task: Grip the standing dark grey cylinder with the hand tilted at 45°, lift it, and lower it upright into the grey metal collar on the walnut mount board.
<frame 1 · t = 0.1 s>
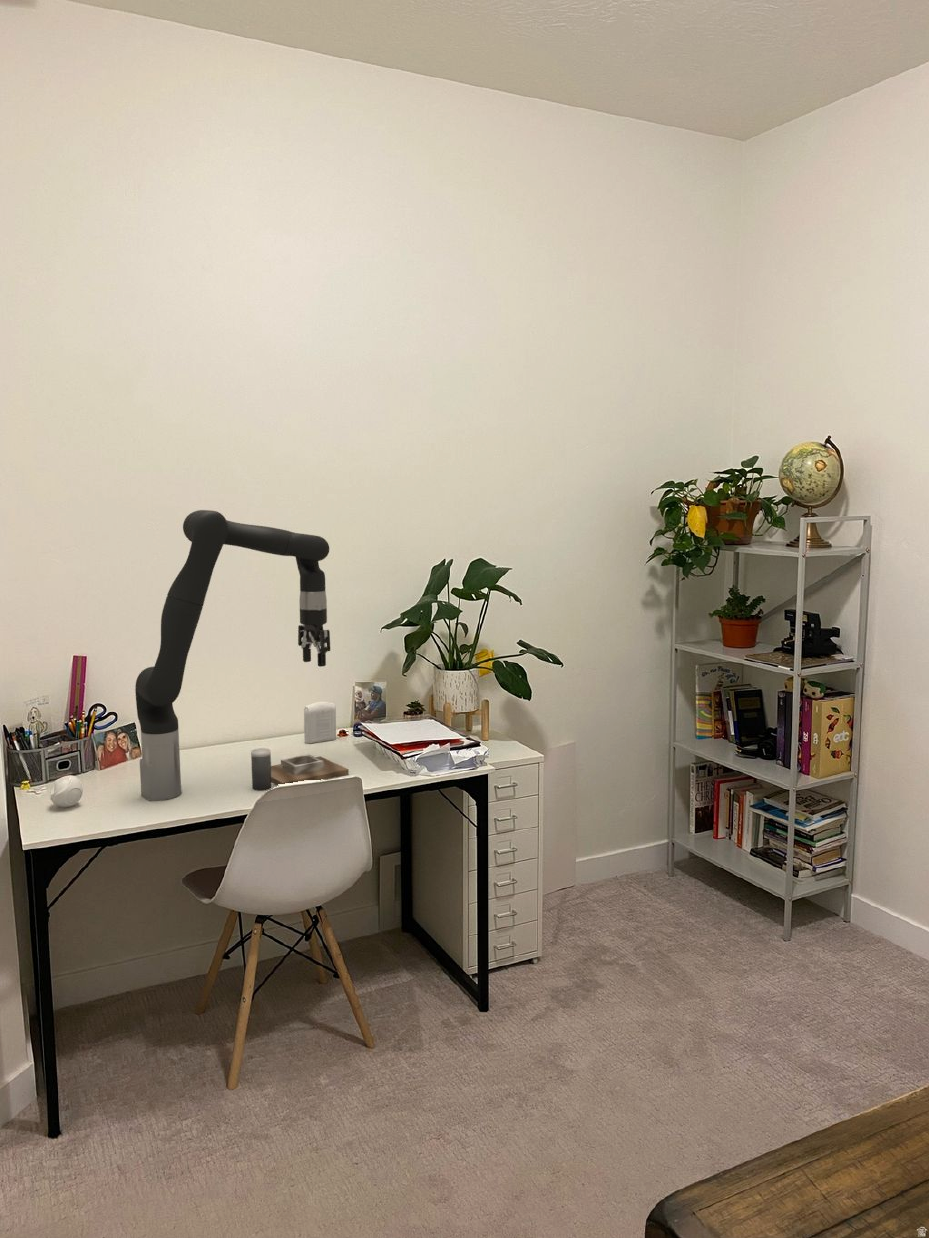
hand: (314, 664, 270), 29 cm above the table, tool pointing down, fingers open, 8 cm apart
dark grey cylinder: (262, 787, 253), on the table
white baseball: (67, 807, 239), on the table
mount board: (302, 774, 264), on the table
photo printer: (320, 741, 299), on the table
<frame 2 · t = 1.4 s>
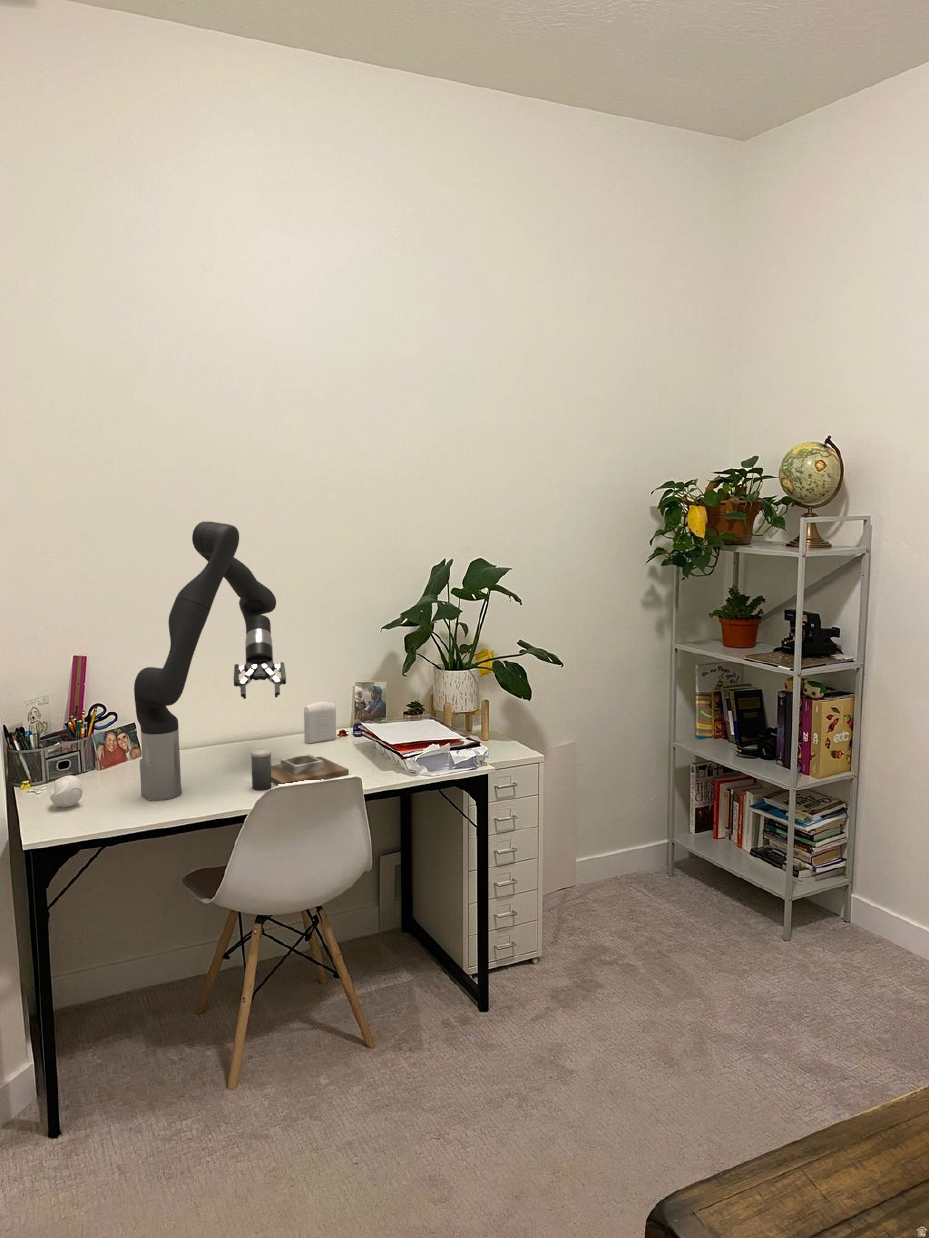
hand: (260, 696, 263), 22 cm above the table, tool tilted 45°, fingers open, 8 cm apart
nothing on the table moved.
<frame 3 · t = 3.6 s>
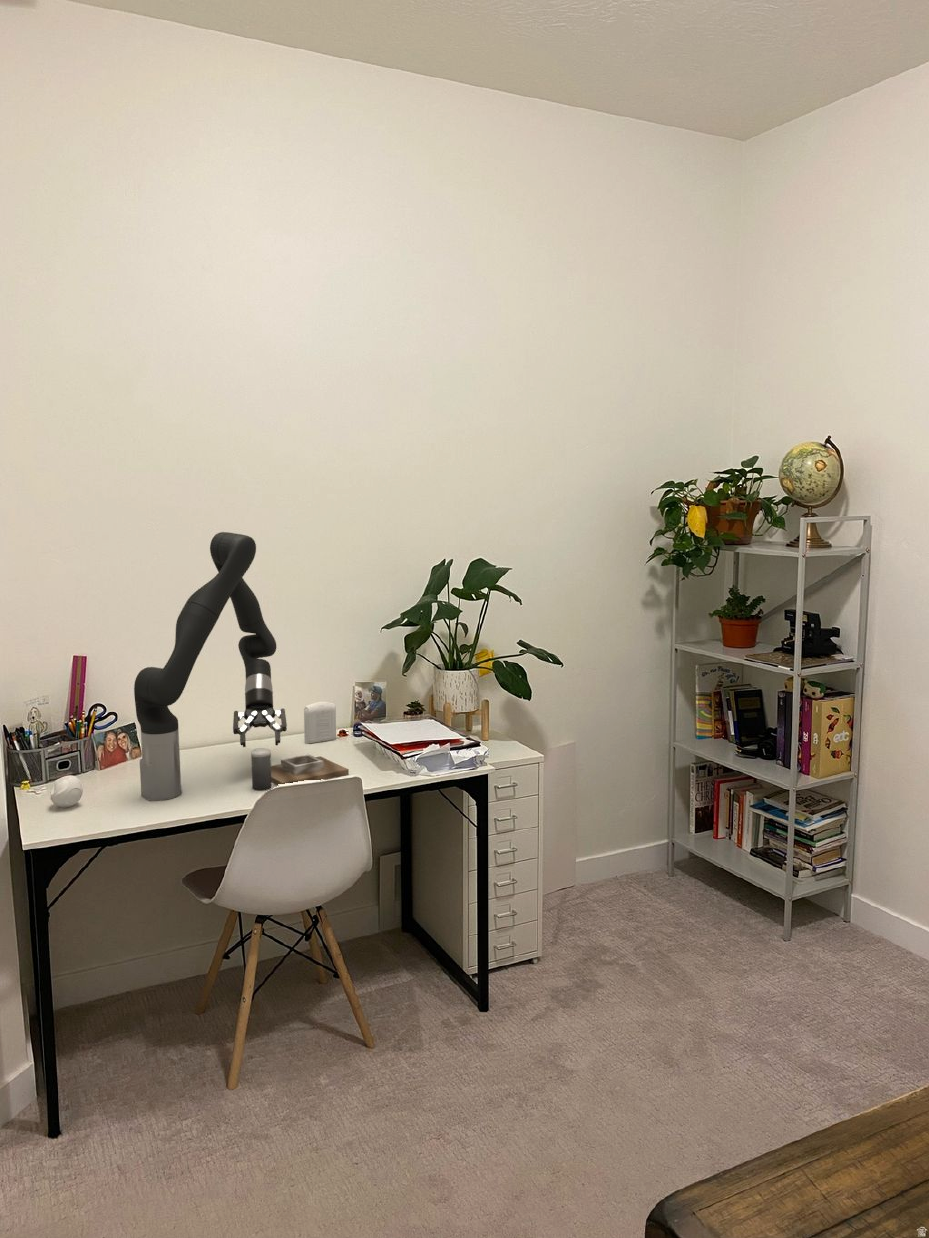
hand: (260, 744, 257), 10 cm above the table, tool tilted 45°, fingers open, 8 cm apart
nothing on the table moved.
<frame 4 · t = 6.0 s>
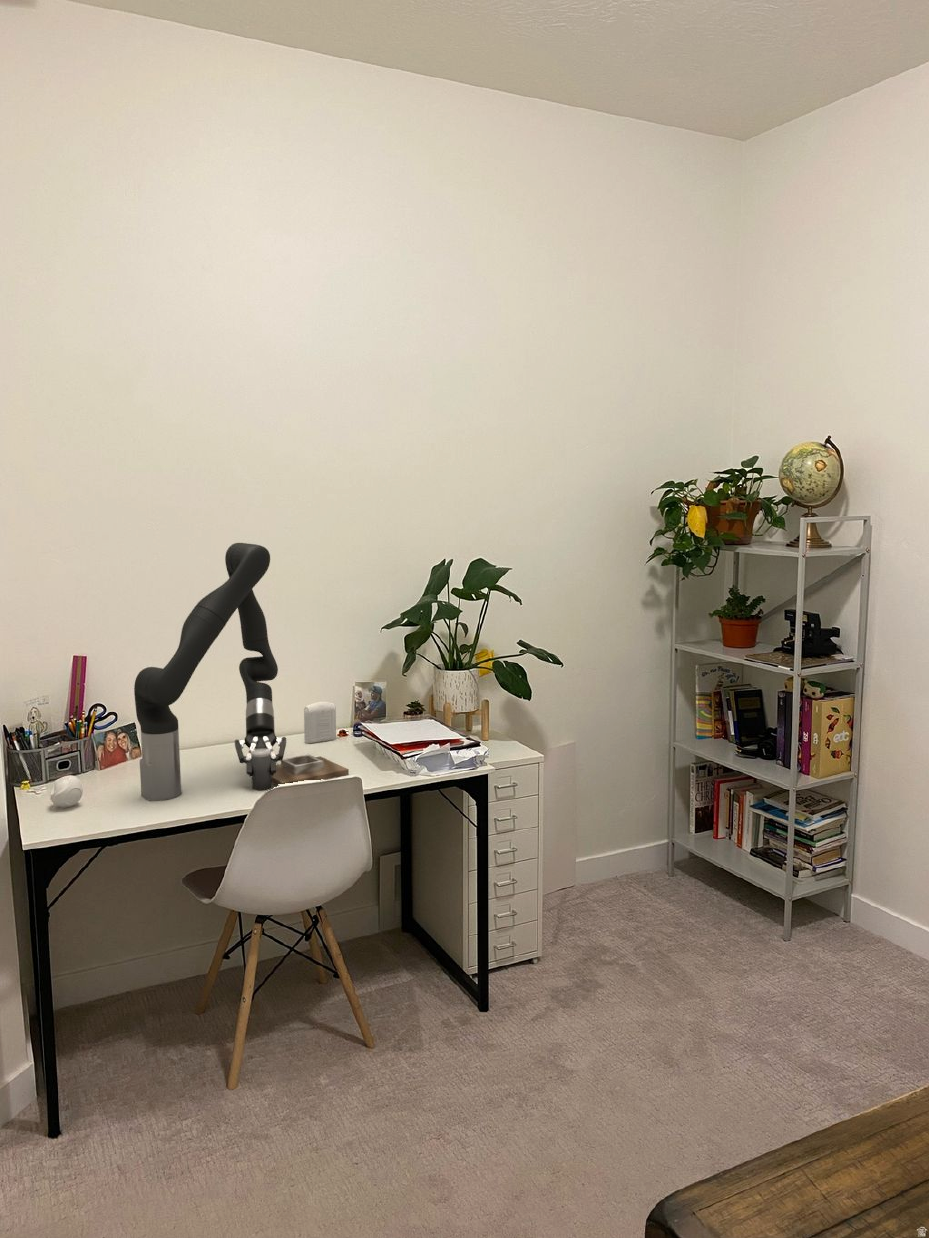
hand: (261, 774, 250), 4 cm above the table, tool tilted 45°, fingers closed on dark grey cylinder, 5 cm apart
dark grey cylinder: (262, 787, 253), on the table, touching gripper
everything else where it was.
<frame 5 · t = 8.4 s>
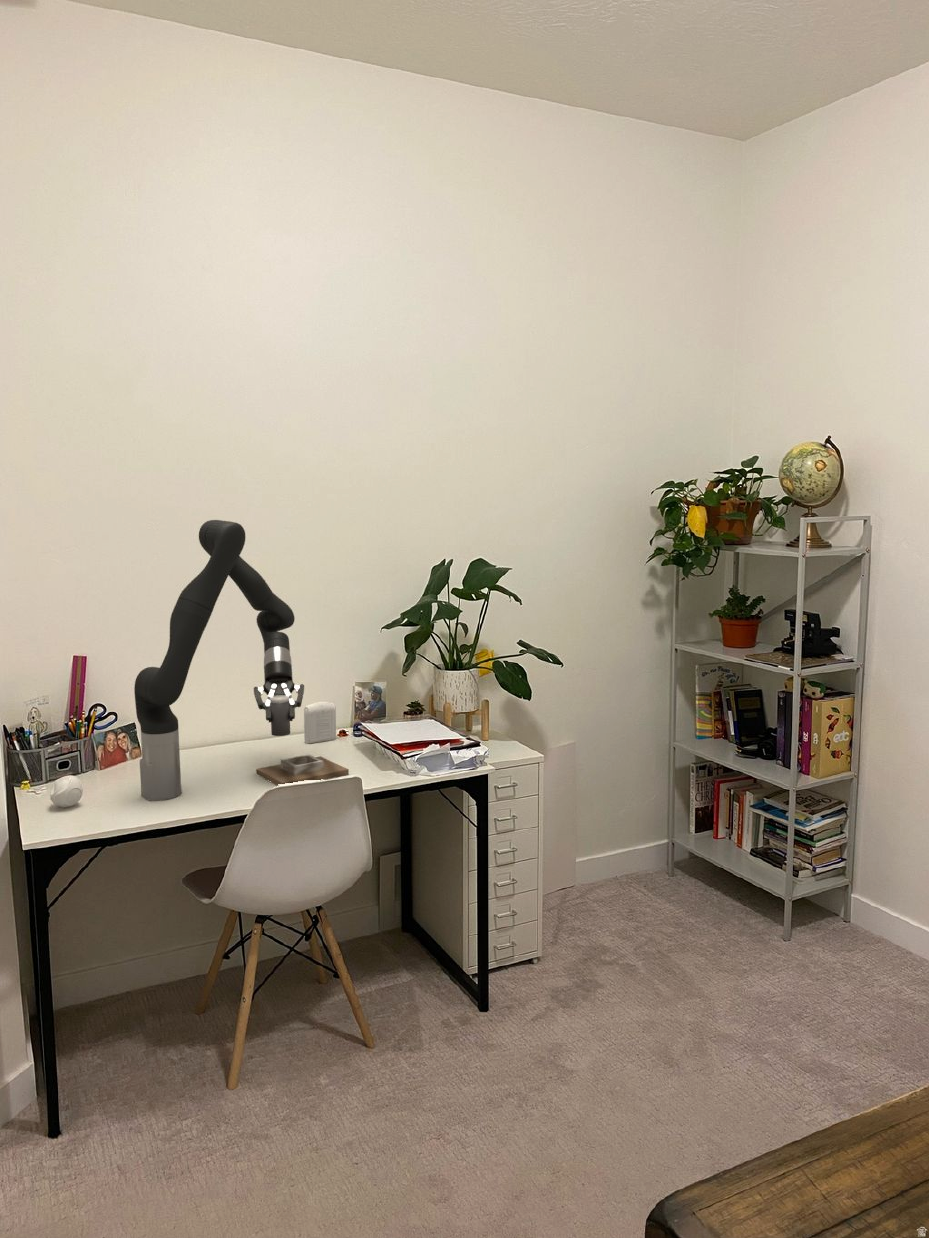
hand: (280, 720, 254), 17 cm above the table, tool tilted 45°, fingers closed on dark grey cylinder, 5 cm apart
dark grey cylinder: (280, 733, 257), point 13 cm above the table, touching gripper
everything else where it was.
when the fingers open (7 cm above the table, at t = 11.1 s): dark grey cylinder drops 1 cm, resting on mount board.
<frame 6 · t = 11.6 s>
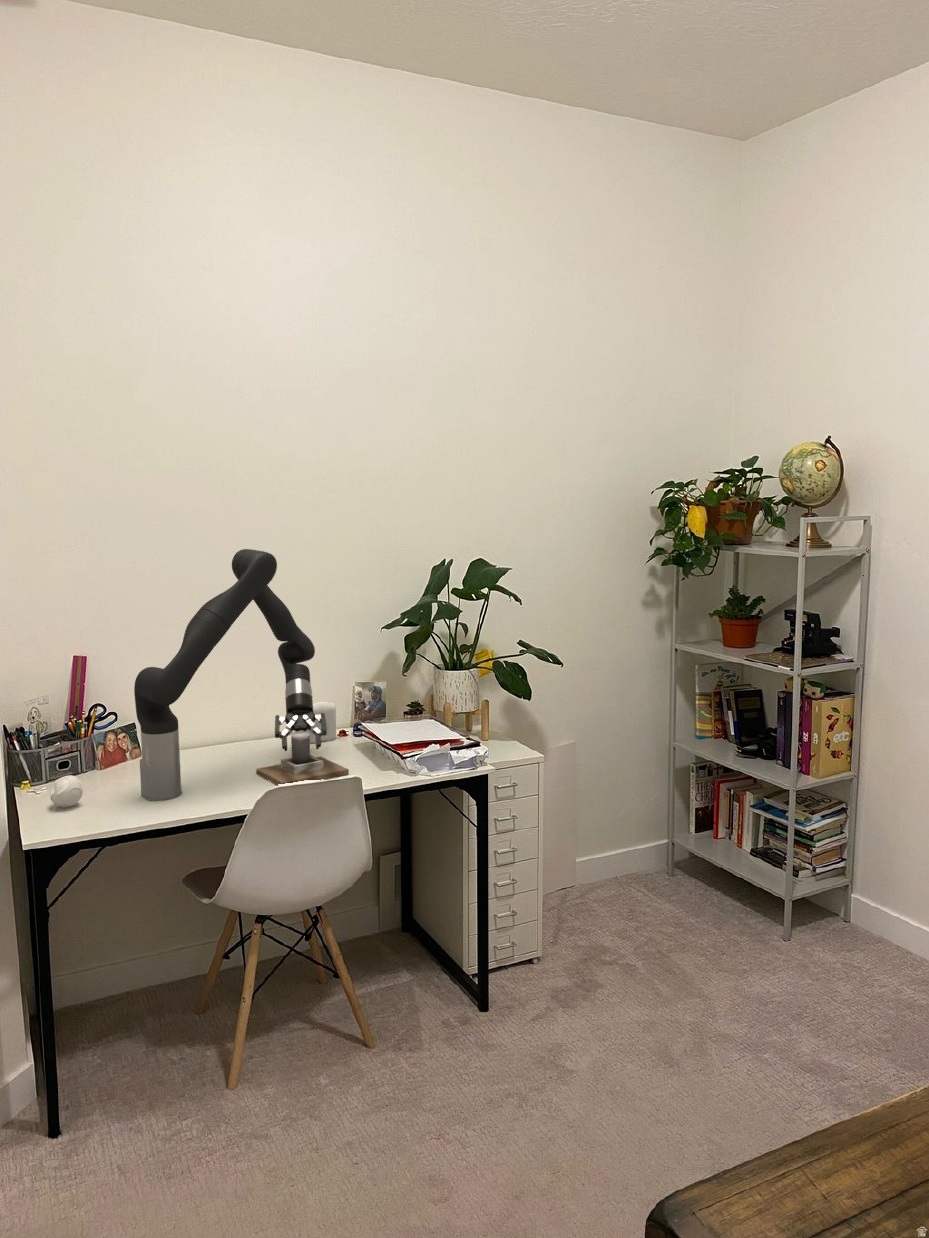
hand: (301, 748, 262), 8 cm above the table, tool tilted 45°, fingers open, 8 cm apart
dark grey cylinder: (301, 768, 264), point 2 cm above the table, touching mount board
everything else where it was.
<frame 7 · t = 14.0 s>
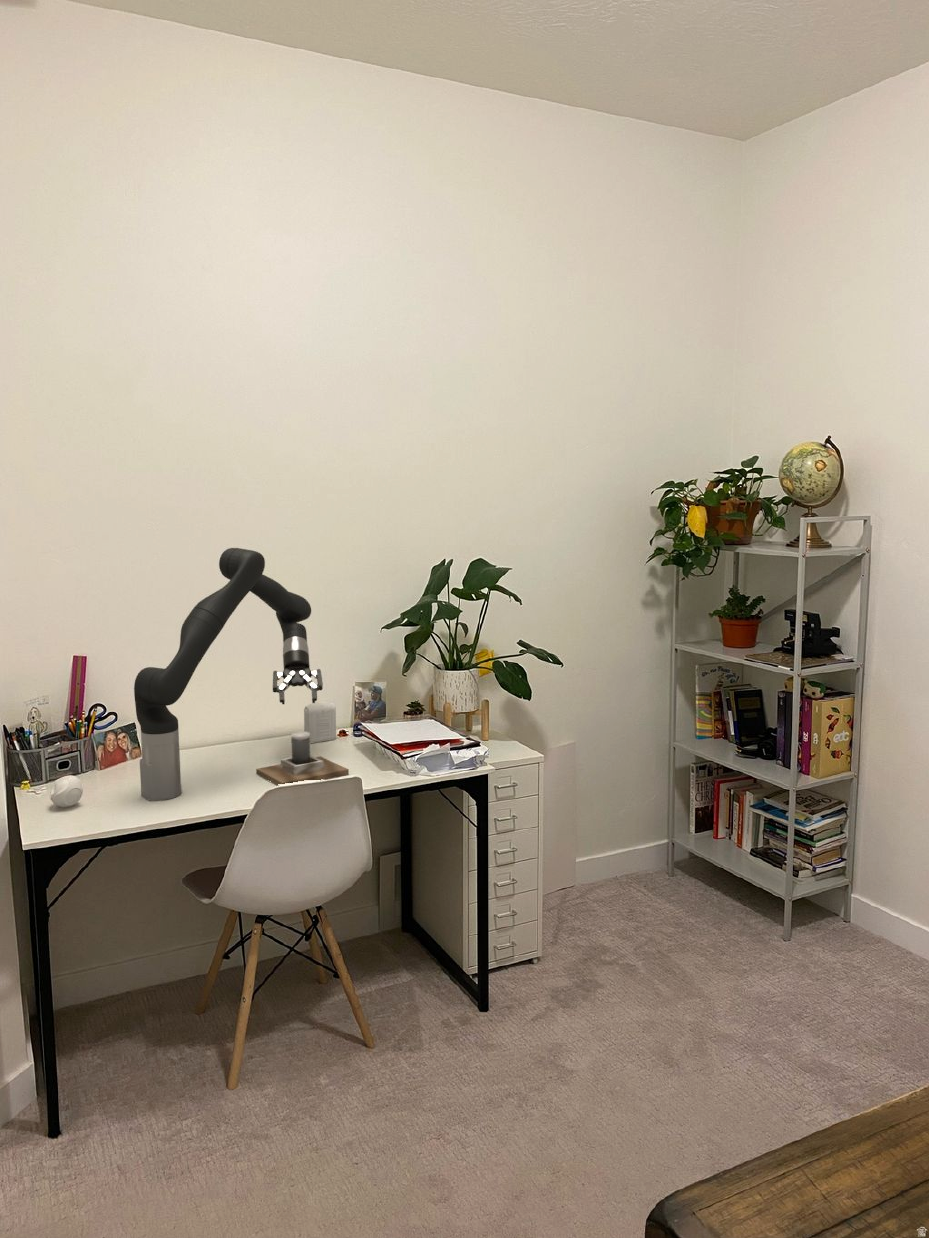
hand: (298, 702, 273), 18 cm above the table, tool tilted 45°, fingers open, 8 cm apart
nothing on the table moved.
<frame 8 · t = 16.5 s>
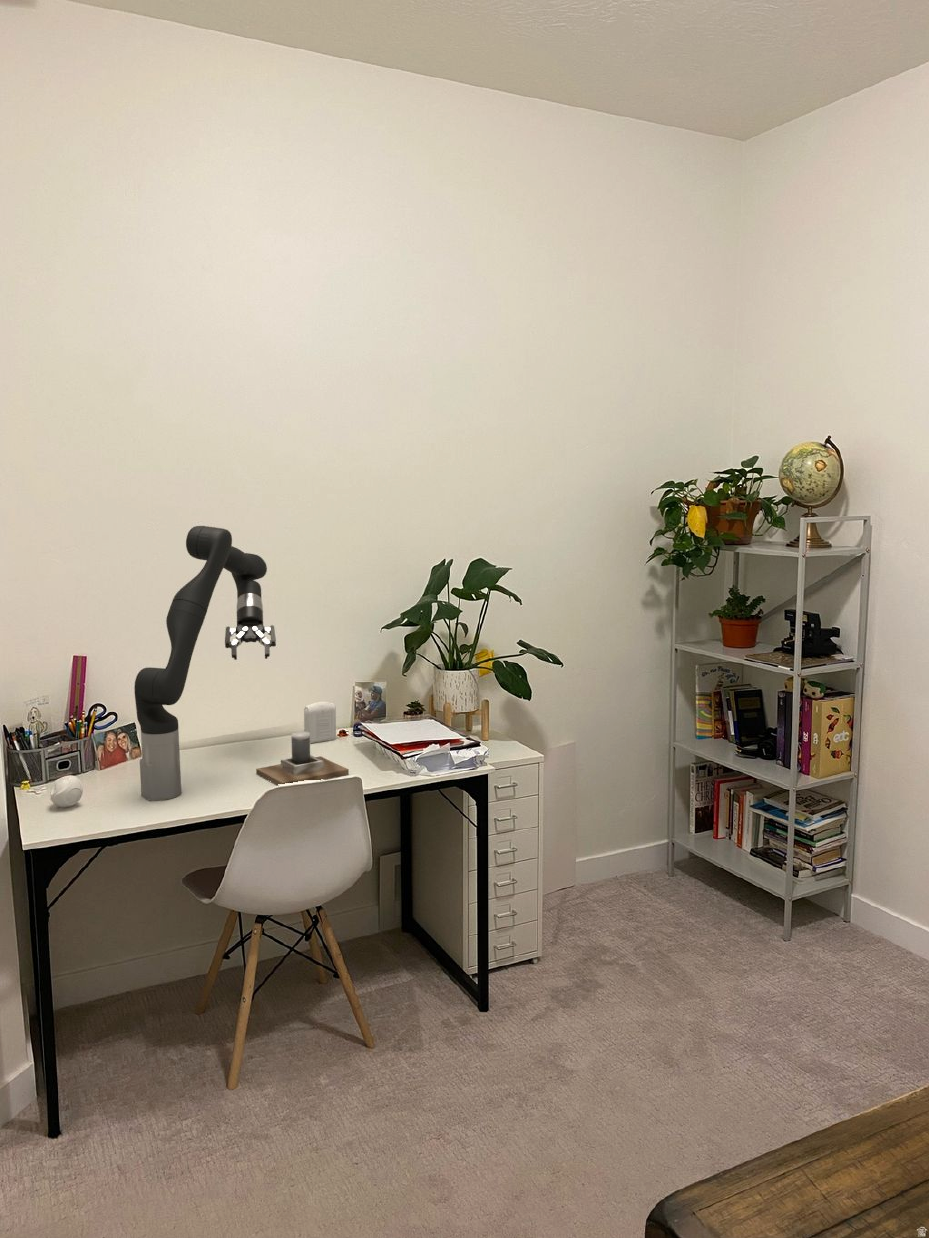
hand: (250, 657, 272), 31 cm above the table, tool tilted 45°, fingers open, 8 cm apart
nothing on the table moved.
at the end: dark grey cylinder 0.3 cm off-centre on the mount board, point 1.5 cm above the mount board's base; dark grey cylinder tilted 0°; the gripper is holding nothing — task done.
